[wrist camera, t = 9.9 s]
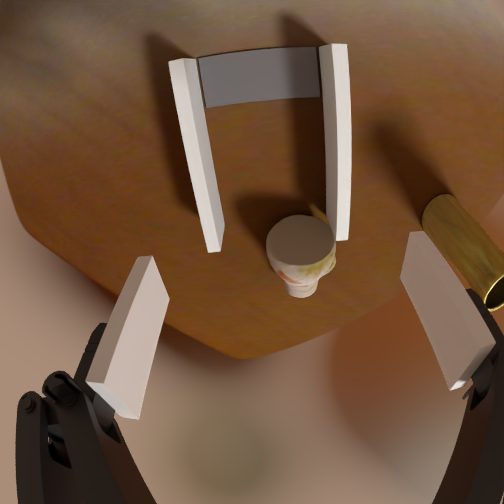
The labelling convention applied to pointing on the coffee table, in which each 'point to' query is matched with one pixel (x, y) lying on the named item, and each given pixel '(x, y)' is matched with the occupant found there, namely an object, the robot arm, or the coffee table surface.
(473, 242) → the vase
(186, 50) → the coffee table surface
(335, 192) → the channel
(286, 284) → the mug
